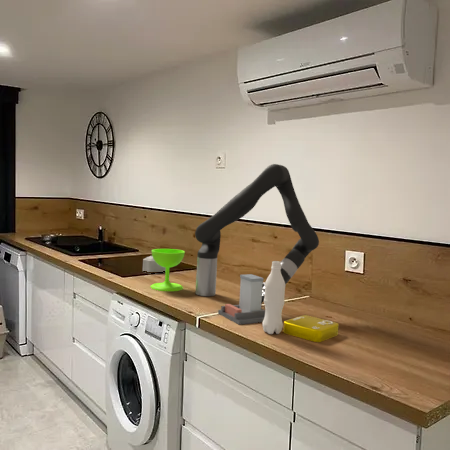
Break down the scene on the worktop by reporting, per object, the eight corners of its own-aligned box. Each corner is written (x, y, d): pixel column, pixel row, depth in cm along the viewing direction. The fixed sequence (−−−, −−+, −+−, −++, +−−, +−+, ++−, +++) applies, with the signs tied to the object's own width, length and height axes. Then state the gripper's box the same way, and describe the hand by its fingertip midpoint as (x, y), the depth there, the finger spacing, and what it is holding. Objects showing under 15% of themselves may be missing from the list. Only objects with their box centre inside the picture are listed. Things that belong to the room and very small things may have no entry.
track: (218, 313, 188) (218, 302, 188) (256, 309, 197) (257, 299, 197) (238, 324, 174) (239, 312, 174) (279, 320, 183) (279, 308, 183)
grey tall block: (238, 310, 188) (240, 274, 187) (249, 309, 191) (251, 274, 190) (249, 315, 181) (251, 278, 180) (261, 314, 183) (263, 278, 182)
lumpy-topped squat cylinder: (140, 271, 272) (140, 256, 271) (158, 269, 281) (159, 254, 280) (151, 274, 265) (152, 258, 264) (169, 272, 274) (170, 257, 273)
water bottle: (266, 335, 163) (270, 263, 161) (259, 329, 169) (263, 259, 168) (285, 335, 164) (290, 263, 163) (277, 328, 171) (282, 260, 169)
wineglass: (167, 293, 220) (168, 254, 218) (143, 287, 229) (144, 250, 228) (190, 288, 232) (191, 251, 231) (166, 283, 242) (167, 247, 241)
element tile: (303, 325, 179) (304, 313, 178) (340, 335, 169) (341, 322, 169) (280, 333, 168) (281, 320, 167) (318, 344, 158) (319, 330, 157)
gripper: (269, 263, 196) (242, 294, 191) (288, 268, 185) (260, 301, 180) (279, 275, 199) (252, 306, 194) (298, 281, 188) (271, 314, 183)
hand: (256, 304), depth 187 cm, fingers closed
